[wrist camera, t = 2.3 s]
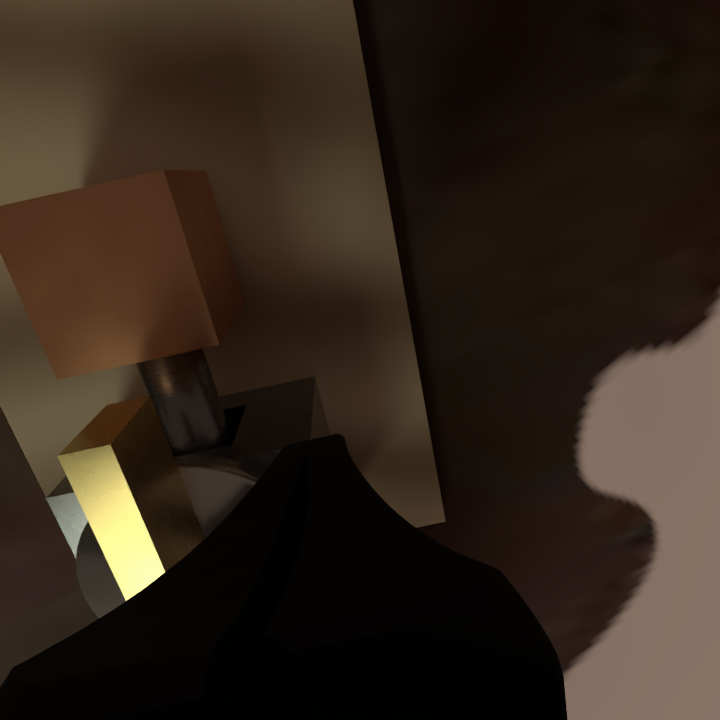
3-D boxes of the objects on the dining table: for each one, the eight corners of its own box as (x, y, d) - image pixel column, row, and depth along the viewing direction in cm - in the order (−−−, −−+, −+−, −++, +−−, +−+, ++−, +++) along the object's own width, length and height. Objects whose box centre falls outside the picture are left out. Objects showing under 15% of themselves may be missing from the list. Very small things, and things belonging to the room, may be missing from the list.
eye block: (346, 497, 19) (351, 591, 15) (164, 535, 19) (116, 639, 15) (315, 376, 17) (310, 442, 13) (115, 418, 18) (45, 498, 13)
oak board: (441, 508, 21) (445, 521, 20) (102, 579, 21) (94, 594, 20) (335, -82, 14) (335, -96, 13) (-163, 32, 14) (-191, 24, 13)
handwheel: (337, 613, 15) (339, 716, 12) (136, 654, 15) (92, 765, 12) (264, 360, 12) (244, 416, 9) (18, 412, 12) (-76, 483, 9)
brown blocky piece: (309, 524, 19) (304, 611, 15) (204, 546, 19) (172, 638, 15) (206, 171, 15) (163, 169, 11) (70, 200, 15) (-20, 210, 11)
